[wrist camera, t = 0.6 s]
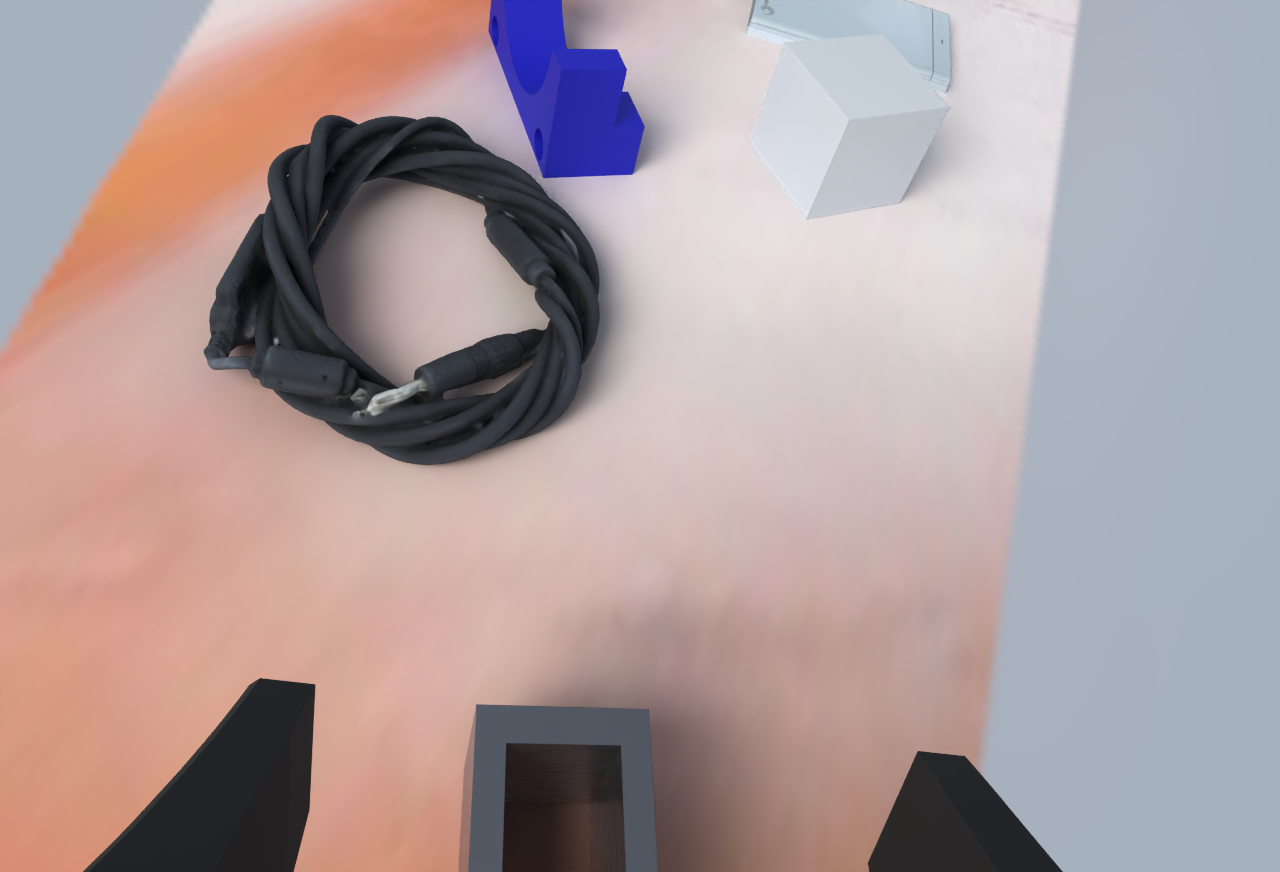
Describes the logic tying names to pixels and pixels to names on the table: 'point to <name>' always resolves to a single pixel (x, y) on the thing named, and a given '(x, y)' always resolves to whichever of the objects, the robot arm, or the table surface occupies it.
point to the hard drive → (862, 28)
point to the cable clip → (565, 93)
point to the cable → (416, 413)
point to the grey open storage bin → (561, 780)
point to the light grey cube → (845, 124)
